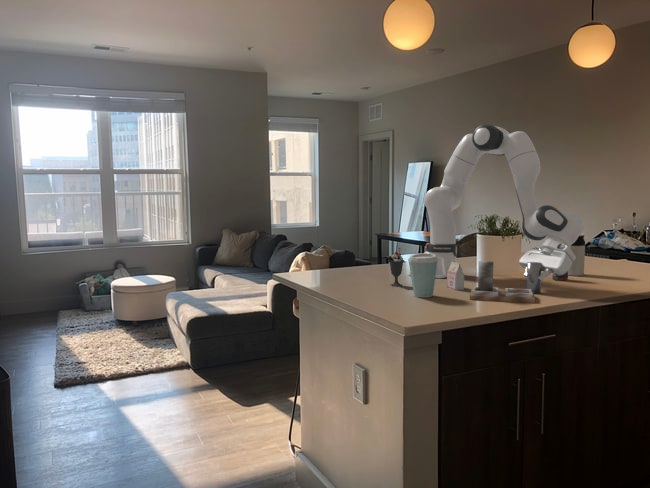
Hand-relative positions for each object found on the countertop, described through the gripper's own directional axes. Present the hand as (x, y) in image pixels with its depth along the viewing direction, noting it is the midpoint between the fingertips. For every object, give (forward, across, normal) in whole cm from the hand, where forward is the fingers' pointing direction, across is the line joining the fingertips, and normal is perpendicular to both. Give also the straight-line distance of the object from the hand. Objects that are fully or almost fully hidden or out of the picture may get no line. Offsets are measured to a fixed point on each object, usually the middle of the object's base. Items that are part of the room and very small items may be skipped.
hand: (532, 278), depth 191 cm
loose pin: (+3, 0, +4) cm, 5 cm away
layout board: (+15, +2, -8) cm, 17 cm away
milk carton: (+18, -20, -10) cm, 28 cm away
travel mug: (-28, -22, +36) cm, 51 cm away
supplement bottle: (-17, -15, +25) cm, 34 cm away
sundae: (+30, -35, -22) cm, 51 cm away
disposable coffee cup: (+32, -13, -24) cm, 41 cm away
